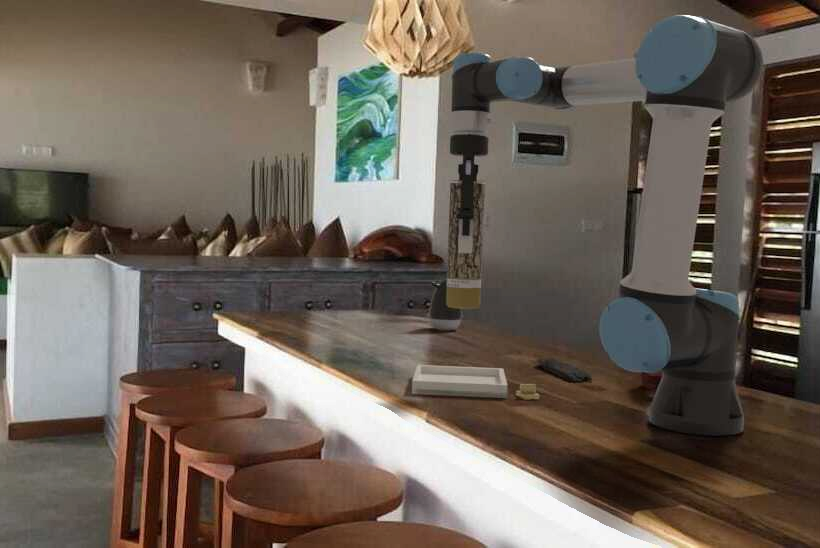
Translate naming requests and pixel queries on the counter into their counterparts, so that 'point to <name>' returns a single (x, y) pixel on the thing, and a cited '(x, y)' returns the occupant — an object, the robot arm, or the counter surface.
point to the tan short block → (527, 392)
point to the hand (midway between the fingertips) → (465, 252)
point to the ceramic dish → (459, 381)
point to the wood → (565, 371)
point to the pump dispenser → (443, 309)
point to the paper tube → (465, 265)
